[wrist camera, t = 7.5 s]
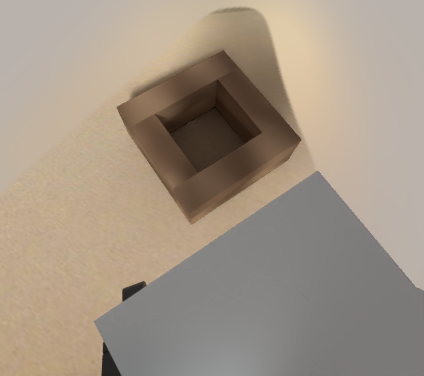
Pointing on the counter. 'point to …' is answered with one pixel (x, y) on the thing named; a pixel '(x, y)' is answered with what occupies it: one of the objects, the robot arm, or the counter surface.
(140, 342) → the grey square pillar
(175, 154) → the well block
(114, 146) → the counter surface
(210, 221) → the counter surface
